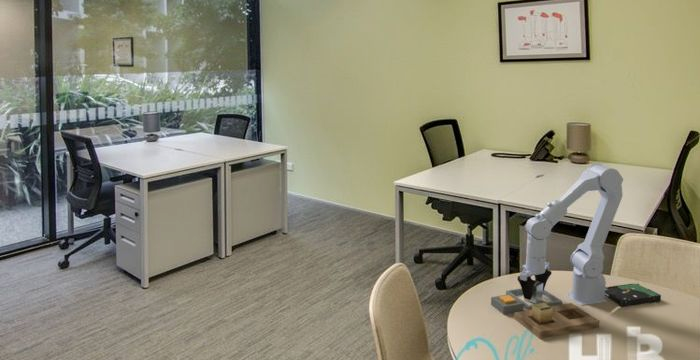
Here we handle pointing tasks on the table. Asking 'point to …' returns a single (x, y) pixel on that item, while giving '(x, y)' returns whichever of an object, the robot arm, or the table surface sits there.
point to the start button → (507, 299)
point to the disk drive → (631, 295)
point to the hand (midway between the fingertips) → (533, 295)
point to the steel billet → (536, 293)
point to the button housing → (507, 305)
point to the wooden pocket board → (559, 321)
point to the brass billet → (542, 313)
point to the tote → (529, 307)
